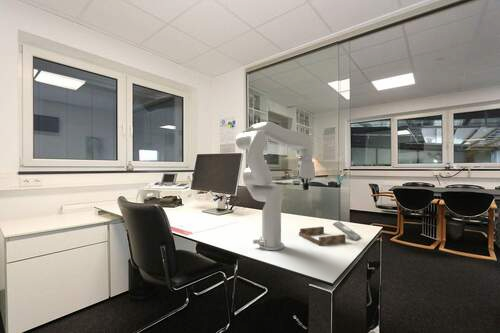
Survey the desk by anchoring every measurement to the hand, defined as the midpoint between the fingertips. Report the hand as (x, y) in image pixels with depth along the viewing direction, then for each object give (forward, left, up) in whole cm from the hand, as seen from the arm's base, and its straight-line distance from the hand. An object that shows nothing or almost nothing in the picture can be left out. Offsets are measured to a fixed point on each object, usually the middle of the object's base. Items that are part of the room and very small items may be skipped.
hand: (305, 189), depth 137 cm
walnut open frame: (+5, -9, -27) cm, 29 cm away
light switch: (+21, -11, -27) cm, 36 cm away
